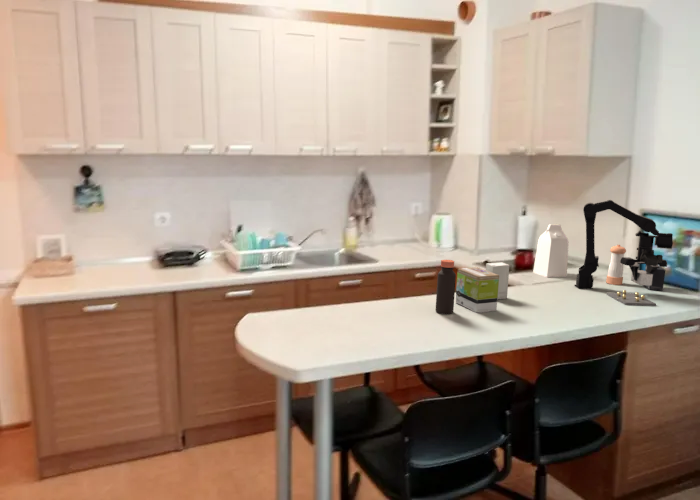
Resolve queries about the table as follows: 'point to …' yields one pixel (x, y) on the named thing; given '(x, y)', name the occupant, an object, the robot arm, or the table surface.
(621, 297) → the pin tray
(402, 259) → the table surface
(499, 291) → the skincare box
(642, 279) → the block
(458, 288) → the tea box
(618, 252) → the pepper shaker
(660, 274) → the small box
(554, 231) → the milk
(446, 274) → the bottle
